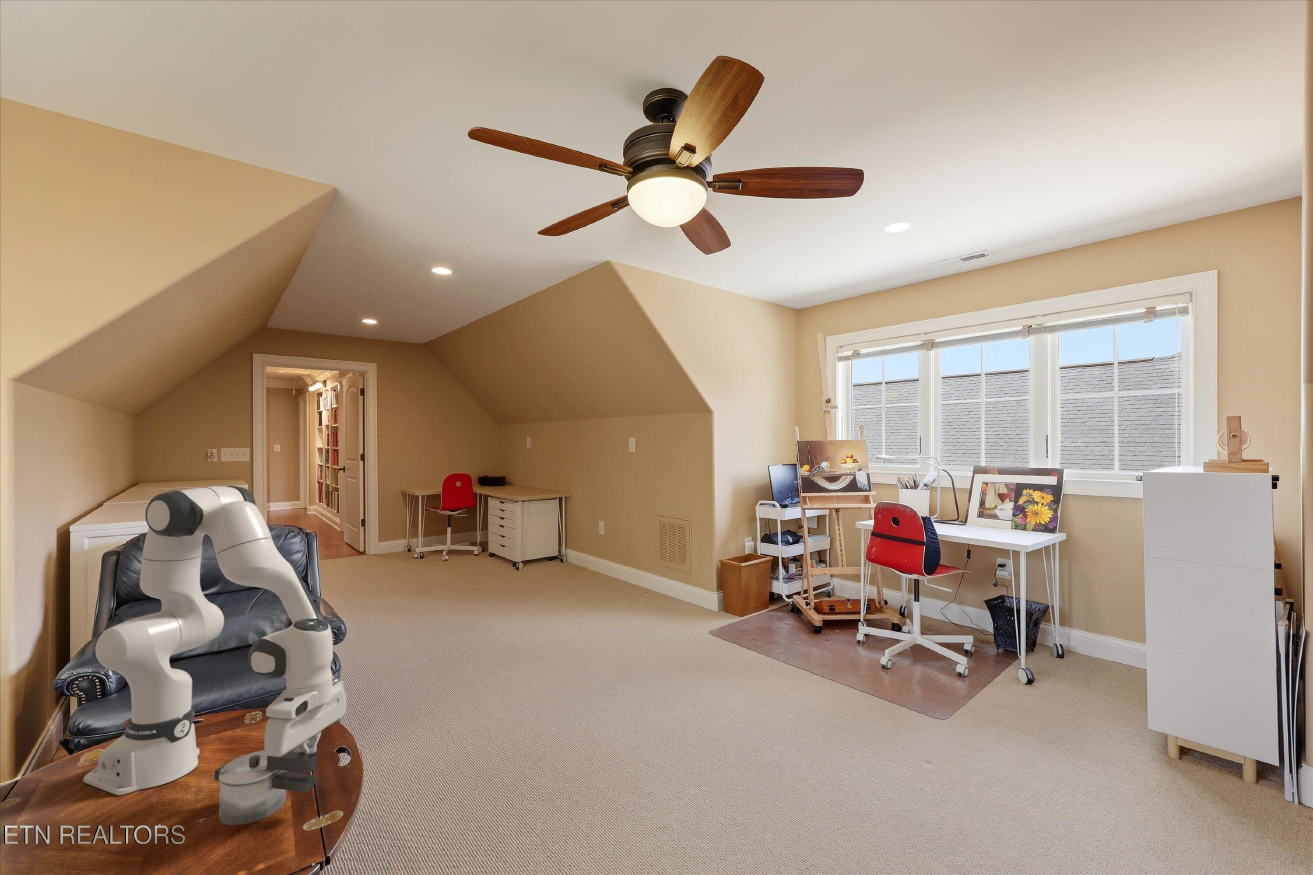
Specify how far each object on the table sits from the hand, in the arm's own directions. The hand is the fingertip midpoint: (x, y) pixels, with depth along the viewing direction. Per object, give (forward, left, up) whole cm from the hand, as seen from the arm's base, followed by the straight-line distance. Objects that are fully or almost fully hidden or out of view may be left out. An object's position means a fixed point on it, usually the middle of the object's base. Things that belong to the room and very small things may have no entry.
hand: (308, 754), depth 128 cm
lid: (-6, -4, -2) cm, 7 cm away
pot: (-7, -4, -11) cm, 13 cm away
